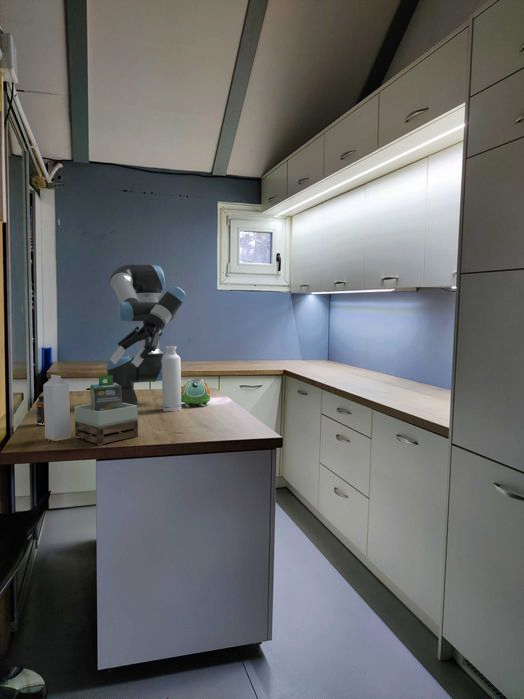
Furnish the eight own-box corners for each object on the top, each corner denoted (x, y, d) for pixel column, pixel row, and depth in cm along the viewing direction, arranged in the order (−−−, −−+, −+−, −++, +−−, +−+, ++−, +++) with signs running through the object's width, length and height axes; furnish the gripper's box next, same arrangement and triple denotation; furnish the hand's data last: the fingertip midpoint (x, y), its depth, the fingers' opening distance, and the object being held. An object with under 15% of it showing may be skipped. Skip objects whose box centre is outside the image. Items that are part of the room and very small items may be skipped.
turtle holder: (172, 403, 239) (171, 378, 238) (210, 402, 240) (210, 377, 239) (169, 408, 226) (169, 381, 225) (210, 407, 228) (210, 381, 227)
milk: (60, 436, 176) (59, 373, 175) (70, 438, 173) (69, 374, 171) (44, 439, 171) (42, 375, 170) (54, 442, 168) (52, 376, 166)
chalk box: (117, 414, 180) (116, 373, 179) (123, 419, 172) (122, 376, 171) (90, 416, 176) (89, 374, 174) (94, 422, 167) (93, 377, 166)
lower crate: (75, 438, 173) (74, 420, 173) (113, 430, 185) (113, 414, 184) (99, 445, 164) (99, 427, 163) (138, 436, 175) (137, 419, 174)
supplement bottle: (57, 423, 196) (56, 394, 195) (46, 426, 191) (45, 397, 190) (44, 422, 198) (43, 393, 197) (33, 425, 193) (32, 396, 192)
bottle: (162, 408, 226) (161, 346, 224) (180, 407, 227) (179, 345, 225) (162, 411, 218) (161, 347, 216) (181, 411, 219) (180, 347, 217)
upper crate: (74, 420, 173) (74, 406, 172) (113, 414, 184) (112, 400, 184) (99, 427, 163) (98, 412, 163) (137, 419, 174) (137, 405, 174)
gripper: (184, 327, 182) (151, 372, 172) (142, 325, 198) (110, 367, 188) (172, 313, 177) (137, 358, 167) (131, 312, 194) (97, 354, 184)
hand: (123, 363), depth 178 cm, fingers open, 13 cm apart
